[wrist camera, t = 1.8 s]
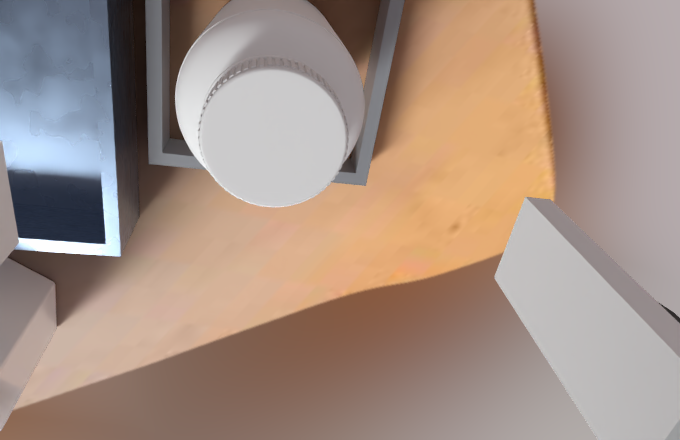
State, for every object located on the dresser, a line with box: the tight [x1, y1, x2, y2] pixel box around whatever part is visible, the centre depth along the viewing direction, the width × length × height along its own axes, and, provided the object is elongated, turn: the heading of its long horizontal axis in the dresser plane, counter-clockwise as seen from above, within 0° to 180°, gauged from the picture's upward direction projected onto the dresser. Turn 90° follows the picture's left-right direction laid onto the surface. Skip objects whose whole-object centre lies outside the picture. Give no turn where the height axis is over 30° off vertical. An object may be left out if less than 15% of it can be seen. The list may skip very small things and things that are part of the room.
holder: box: [145, 0, 405, 186], centre depth 29 cm, size 14×14×2 cm
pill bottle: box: [175, 0, 365, 207], centre depth 24 cm, size 8×8×15 cm
